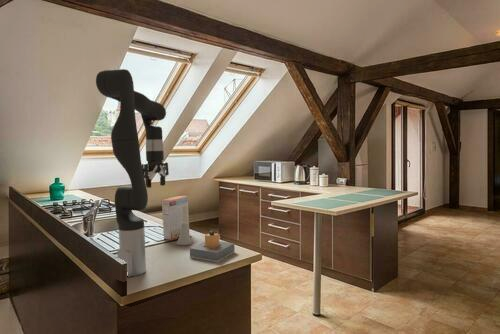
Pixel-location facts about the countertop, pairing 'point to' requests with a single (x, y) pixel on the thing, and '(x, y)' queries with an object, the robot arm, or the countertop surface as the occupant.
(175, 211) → the cracker box
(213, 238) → the plug
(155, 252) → the countertop surface
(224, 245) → the socket block
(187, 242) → the flask
